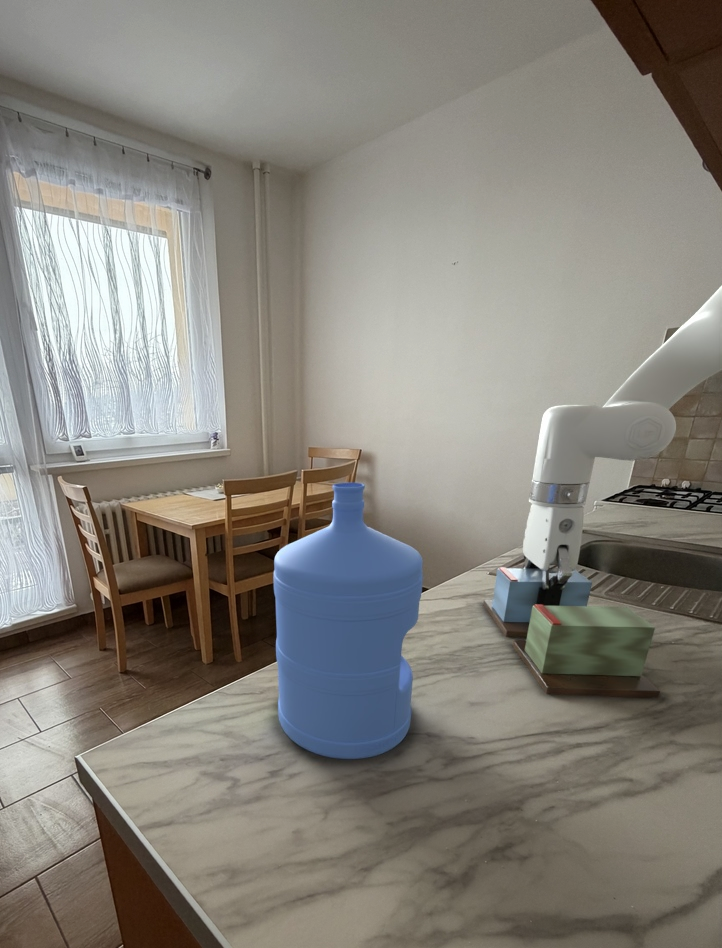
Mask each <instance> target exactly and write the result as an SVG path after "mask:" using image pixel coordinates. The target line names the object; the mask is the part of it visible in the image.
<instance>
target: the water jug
mask: <svg viewBox="0 0 722 948" xmlns="http://www.w3.org/2000/svg"><path fill="white" fill-rule="evenodd" d="M365 489H366V484H364V483H362V482H338V483H333V485H332V491H333V500H332V501H331V502H332V503H331V507H332V521H331V523H330V524H329V525H328V526H326V527H324V528H322V529H320V530H317V531H315V532H313V533H310V534H308V535H306V536H304V537H301V538H299V539H297V540H295V541H293V542H291V543H288V544H286V545H284V546H283V547H282V548H280V549H279V551H277V553H276V554H275V556H274V560H273V565H274V570H273V576H272V577H273V593H274V597H275V621H276V622H275V623H276V640H275V658H276V662H277V675H278V701H277V709H278V711H277V712H278V720H279V724H280V726H281V728H282V730H283V731H284V733H285V734H286V736H287V737H288V738H289V739H290V740H291V741H292V742H293V743H295V744H297V745H298V746H299V747H300V748H303V749H304V750H305V751H308V752H310V753H313V754H316V755H319V756H323V757H326V758H331V759H332V758H333V759H339V760H340V759H341V760H359V759H367V758H372V757H377V756H379V755H382V754H384V753H387V752H389V751H390V750H392V749H394V748H396V747H397V746H398V745H399V744H400V743H401V742H402V741H404V739H405V737H406V735H407V734H408V732H409V729H410V726H411V719H412V695H413V694H412V693H413V692H412V691H413V681H414V675H413V670H412V667H411V665H410V663H409V662H408V660H407V659H406V658H405V657H404V656H403V655H402V653H403V652H402V651H403V643H404V639H405V637H406V635H407V634H408V632H409V631H410V630H412V629H413V628H414V627H415V626H416V625H417V623H418V620H419V611H420V601H421V598H422V593H423V582H424V575H423V573H424V572H423V566H424V562H423V557H422V555H421V554H420V552H419V551H418V550H417V549H415V548H414V547H412V546H411V545H409V544H407V543H404V542H402V541H400V540H398V539H396V538H394V537H391V536H390V535H387V534H385V533H383V532H380V531H378V530H376V529H374V528H372V527H370V526H367V525H366V523H365V521H364V508H365V500H364V490H365Z"/></svg>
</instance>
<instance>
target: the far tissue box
mask: <svg viewBox="0 0 722 948" xmlns="http://www.w3.org/2000/svg"><path fill="white" fill-rule="evenodd" d="M496 569H497V570H496V577H495V584H494V590H493V596H492V597H493V598H492V600H493V603H492V607H493V608H494V610H495V611H496V612H497V614H498V615H499V616H500V618H501V619H502V620H503V622H530V618H531V612H532V607H533V605H534V606H535V604H536V603H537V598H538V592H539V587H542V570H541V569H527V568H523V567H522V568H517V567H514V568H511V567H505V566H504V567H503V566H500V567H498V568H496ZM556 575H557V573H549V580H550V579H551V578H552V577H553V576H556ZM592 585H593V581H591V580H590V579H588V578H587V577H586V576H584V575H583V574H582V573H580V572H579V571H577V569H575V570H574V571H572V576H571V577H570V578H569V579H568V581H567V583H566V584H565V588H564V589H563V590H562V595H561V600H560V605H559V606H588V603H589V599H590V596H591V590H592Z"/></svg>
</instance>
